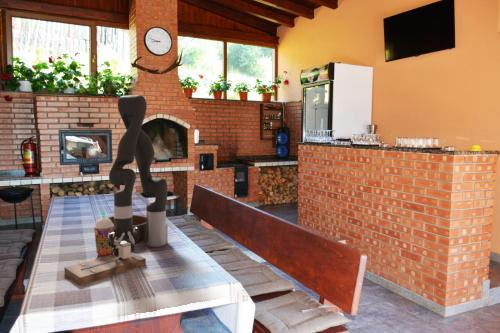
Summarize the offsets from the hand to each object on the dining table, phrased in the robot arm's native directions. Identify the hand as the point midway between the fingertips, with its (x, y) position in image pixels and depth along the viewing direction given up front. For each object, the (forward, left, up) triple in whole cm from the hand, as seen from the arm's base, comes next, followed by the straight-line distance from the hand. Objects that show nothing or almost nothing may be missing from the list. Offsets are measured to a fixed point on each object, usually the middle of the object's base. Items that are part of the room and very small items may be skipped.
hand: (124, 254), depth 165 cm
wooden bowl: (-18, -30, -5) cm, 35 cm away
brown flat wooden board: (+8, 0, -5) cm, 9 cm away
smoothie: (0, -17, -5) cm, 18 cm away
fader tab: (0, 0, -1) cm, 1 cm away
